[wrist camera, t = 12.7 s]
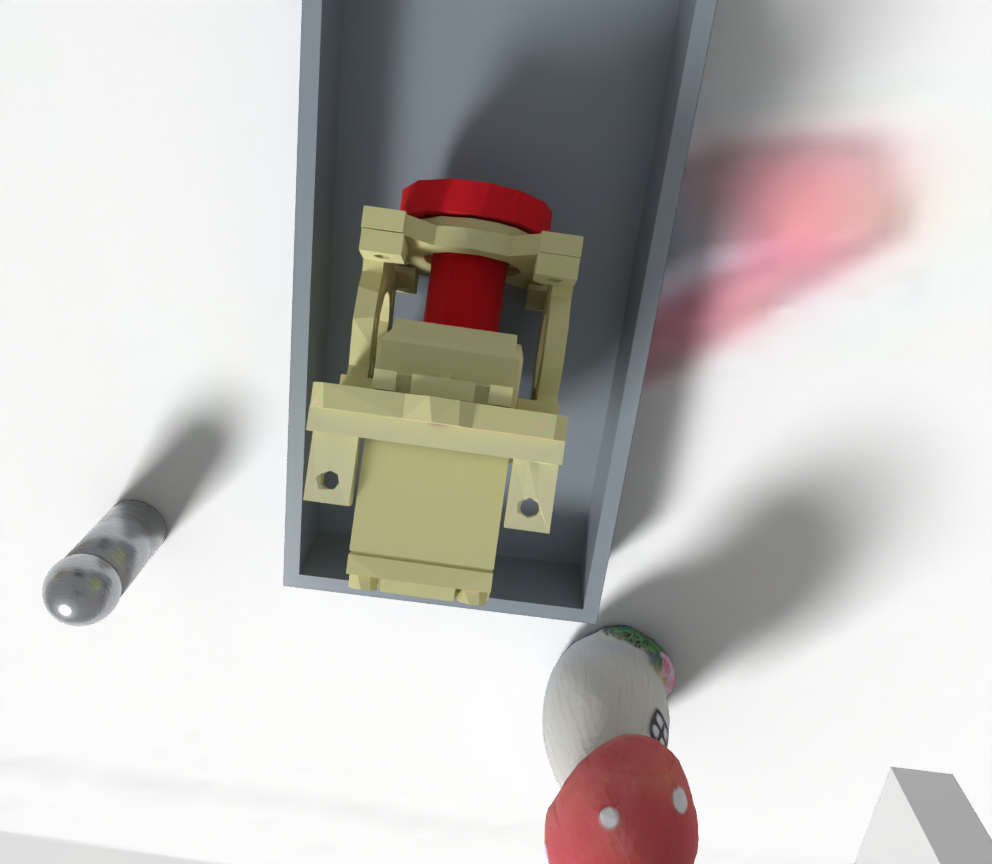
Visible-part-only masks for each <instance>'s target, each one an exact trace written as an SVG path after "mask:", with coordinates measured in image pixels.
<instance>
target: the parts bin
mask: <svg viewBox="0 0 992 864" xmlns="http://www.w3.org/2000/svg"><path fill="white" fill-rule="evenodd" d="M716 3H717V0H302V21H301V52H300V83H299V114H298V145H297V176H296V207H295V238H294V269H293V300H292V331H291V362H290V393H289V423H288V454H287V485H286V516H285V547H284V578H283V586H290V587H298V588H306V589H314V590H322V591H330V592H338V593H347V594H355V595H363V596H371V597H379V598H387V599H395V600H403V601H412V602H420V603H428V604H436V605H444V606H452V607H460V608H468V609H477V610H485V611H493V612H501V613H509V614H517V615H525V616H533V617H542V618H550V619H558V620H566V621H574V622H582V623H590V624H596V622H597V617H598V611H599V606H600V601H601V596H602V591H603V586H604V580H605V575H606V570H607V565H608V560H609V555H610V550H611V544H612V539H613V534H614V529H615V524H616V519H617V513H618V508H619V503H620V498H621V493H622V488H623V483H624V477H625V472H626V467H627V462H628V457H629V452H630V446H631V441H632V436H633V431H634V426H635V421H636V415H637V410H638V405H639V400H640V395H641V390H642V385H643V379H644V374H645V369H646V364H647V359H648V354H649V348H650V343H651V338H652V333H653V328H654V323H655V318H656V312H657V307H658V302H659V297H660V292H661V287H662V281H663V276H664V271H665V266H666V261H667V256H668V251H669V245H670V240H671V235H672V230H673V225H674V220H675V214H676V209H677V204H678V199H679V194H680V189H681V184H682V178H683V173H684V168H685V163H686V158H687V153H688V147H689V142H690V137H691V132H692V127H693V122H694V116H695V111H696V106H697V101H698V96H699V91H700V86H701V80H702V75H703V70H704V65H705V60H706V55H707V49H708V44H709V39H710V34H711V29H712V24H713V19H714V13H715V8H716ZM450 178H456V179H464V180H472V181H480V182H488V183H493V184H497V185H501V186H504V187H508V188H512V189H516V190H520V191H523V192H525V193H527V194H529V195H531V196H533V197H535V198H537V199H539V200H542V201H544V202H546V204H547V205H548V207H549V208H550V210H551V211H552V212H553V214H552V221H551V228H550V232H555V233H562V234H569V235H576V236H583V237H584V238H583V246H582V253H581V258H580V263H579V270H578V278H577V281H576V283H575V285H574V287H573V292H572V298H571V307H570V317H569V328H568V335H567V342H566V349H565V356H564V364H563V370H562V376H561V382H560V387H559V393H558V402H557V404H560V410H559V415H561V416H565V417H569V419H568V425H567V432H566V439H565V447H564V455H563V462H562V465H559V467H558V474H557V481H556V489H555V496H554V503H553V511H552V518H551V525H550V533H549V534H548V533H541V532H533V531H526V530H519V529H511V528H504V518H505V511H506V504H507V497H508V489H509V482H510V475H511V468H512V462H511V463H510V464H509V465H508V469H507V476H506V483H505V490H504V498H503V505H502V512H501V520H500V527H499V534H498V542H497V549H496V556H495V563H494V570H493V578H492V587H491V592H490V595H489V599H488V600H486V604H485V605H481V606H478V605H469V604H465V603H461V602H459V601H457V598H455V600H454V601H453V602H452V601H444V600H437V599H430V598H422V597H415V596H408V595H401V594H393V593H386V592H379V591H380V587H377V590H373V591H367V590H359V589H353V588H350V587H349V574H346V569H347V561H348V554H349V553H350V552H351V550H349V548H350V541H351V534H352V527H353V520H354V513H355V506H356V498H357V491H358V484H359V477H360V470H361V463H362V456H363V449H364V442H365V438H361V445H360V452H359V459H358V466H357V473H356V480H355V487H354V494H353V501H352V505H350V506H343V505H336V504H329V503H321V502H314V501H307V500H303V497H304V490H305V483H306V476H307V469H308V462H309V455H310V448H311V441H312V434H313V431H310V430H306V427H307V420H308V413H309V406H310V403H311V395H312V387H313V382H325V383H333V384H340V377H341V374H344V375H347V372H348V366H349V356H350V345H351V334H352V323H353V315H354V309H355V304H356V298H357V292H358V286H359V282H360V278H361V274H362V268H363V257H362V255H361V253H360V251H359V244H360V237H361V230H362V227H361V222H362V215H363V208H364V205H365V206H372V207H379V208H386V209H393V210H400V206H401V198H402V190H403V189H404V188H406V187H408V186H409V185H411V184H413V183H414V182H416V181H418V180H432V179H450ZM418 276H419V280H418V288H417V295H415V294H408V293H401V292H396V294H395V304H394V315H393V324H392V328H393V325H394V322H395V319H396V318H399V319H406V320H413V321H421V322H423V321H424V313H425V306H426V299H427V291H428V284H429V277H430V274H418ZM526 292H527V290H526V289H523V288H520V287H517V286H514V285H511V284H508V283H505V287H504V294H503V301H502V309H501V316H500V323H499V331H498V332H499V333H506V334H513V335H517V344H520V345H521V346H522V353H523V366H522V372H521V379H520V386H519V392H518V398H521V399H529V400H530V399H531V391H532V382H533V374H534V366H535V359H536V351H537V344H538V337H539V331H540V325H541V319H542V312H540V311H533V310H526V309H524V306H525V299H526ZM338 484H339V479H338V474H336V473H334V472H332V471H330V472H327V473H326V474H325V475H324V485H325V486H326V487H328V488H329V489H334V488H336V486H337V485H338ZM520 510H521V512H522V513H523V514H524V515H527V516H531V515H533V514H535V513H536V512H537V511H538V503H537V502H536V501H534V500H533V499H532V498H528V499H526V500H523V501H522V504H521V507H520Z"/></svg>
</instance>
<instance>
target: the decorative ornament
mask: <svg viewBox="0 0 992 864" xmlns="http://www.w3.org/2000/svg"><path fill="white" fill-rule="evenodd" d="M675 683H676V676H675V672H674V667H673V664H672V662H671V660H670V658H669V657H668V655H667V654H666V652H665V651H664V650H663V649H662V648H661V647H660V646H659V645H657V644H656V643H655V641H654V640H653V639H651V638H649V637H647V636H645V635H643V634H641V633H639V632H637V631H635V630H633V629H631V628H629V627H627V626H617V627H604V628H602V629H601V630H599V631H598V632H596V633H594V634H592V635H589V636H587V637H584V638H582V639H581V640H579V641H577V642H575V643H574V644H573V645H571V646H570V647H569V648H568V649H567V650H566V651H565V652H564V653H563V654H562V656H561V657H560V659H559V660H558V662H557V663H556V665H555V667H554V669H553V671H552V673H551V676H550V679H549V682H548V685H547V689H546V693H545V698H544V705H543V736H544V743H545V748H546V752H547V756H548V759H549V762H550V765H551V768H552V770H553V773H554V775H555V778H556V780H557V782H558V784H559V786H560V788H561V790H560V792H559V793H558V795H557V797H556V798H555V800H554V801H553V803H552V804H551V805H550V807H549V808H548V811H547V814H546V821H545V853H546V856H547V859H548V862H549V864H694V860H695V857H696V854H697V849H698V822H697V814H696V809H695V806H694V803H693V800H692V794H691V791H690V788H689V785H688V781H687V779H686V776H685V774H684V771H683V769H682V767H681V764H680V762H679V760H678V759H677V758H676V757H675V755H674V754H673V753H672V752H671V751H670V750H669V749H667V746H668V737H669V723H670V722H669V710H668V702H667V696H668V695H669V694H670V693H671V692H672V691H673V688H674V686H675Z"/></svg>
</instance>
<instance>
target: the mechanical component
mask: <svg viewBox="0 0 992 864" xmlns="http://www.w3.org/2000/svg"><path fill="white" fill-rule="evenodd" d="M552 214H553V212H552V211H551V210H550V208H549V207H548V205H547V204H546V202H544V201H542V200H539V199H537V198H535V197H533V196H531V195H529V194H527V193H525V192H523V191H520V190H516V189H512V188H508V187H504V186H501V185H497V184H493V183H488V182H480V181H472V180H464V179H456V178H450V179H432V180H418V181H416V182H414V183H413V184H411V185H409V186H408V187H406V188H404V189H403V190H402V198H401V206H400V210H393V209H386V208H379V207H372V206H365V205H364V208H363V215H362V222H361V227H362V230H361V237H360V244H359V251H360V253H361V255H362V257H363V268H362V274H361V278H360V282H359V286H358V292H357V298H356V304H355V309H354V315H353V323H352V334H351V345H350V356H349V366H348V372H347V375H344V374H341V377H340V384H333V383H325V382H313V387H312V395H311V403H310V406H309V413H308V420H307V427H306V430H310V431H313V434H312V441H311V448H310V455H309V462H308V469H307V476H306V483H305V490H304V497H303V500H307V501H314V502H321V503H329V504H336V505H343V506H350V505H352V501H353V494H354V487H355V480H356V473H357V466H358V459H359V452H360V445H361V438H365V442H364V449H363V456H362V463H361V470H360V477H359V484H358V491H357V498H356V506H355V513H354V520H353V527H352V534H351V541H350V548H349V550H351V552H350V553H349V554H348V561H347V569H346V574H349V587H350V588H353V589H359V590H367V591H373V590H377V587H380V591H379V592H386V593H393V594H401V595H408V596H415V597H422V598H430V599H437V600H444V601H452V602H453V601H454V600H455V598H457V601H459V602H461V603H465V604H469V605H478V606H481V605H485V604H486V600H488V599H489V595H490V592H491V587H492V578H493V570H494V563H495V556H496V549H497V542H498V534H499V527H500V520H501V512H502V505H503V498H504V490H505V483H506V476H507V469H508V465H509V464H510V463H511V462H512V468H511V475H510V482H509V489H508V497H507V504H506V511H505V518H504V528H511V529H519V530H526V531H533V532H541V533H548V534H549V533H550V525H551V518H552V511H553V503H554V496H555V489H556V481H557V474H558V467H559V465H562V462H563V455H564V447H565V439H566V432H567V425H568V419H569V417H565V416H561V415H559V410H560V404H557V402H558V393H559V387H560V382H561V376H562V370H563V364H564V356H565V349H566V342H567V335H568V328H569V317H570V307H571V298H572V292H573V287H574V285H575V283H576V281H577V278H578V270H579V263H580V258H581V253H582V246H583V238H584V237H583V236H576V235H569V234H562V233H555V232H550V228H551V221H552ZM418 274H430V277H429V284H428V291H427V299H426V306H425V313H424V321H423V322H421V321H413V320H406V319H399V318H396V319H395V322H394V325H393V328H392V324H393V315H394V304H395V294H396V292H401V293H408V294H415V295H417V288H418V280H419V276H418ZM505 283H508V284H511V285H514V286H517V287H520V288H523V289H526V290H527V292H526V299H525V306H524V309H526V310H533V311H540V312H542V319H541V325H540V331H539V337H538V344H537V351H536V359H535V366H534V374H533V382H532V391H531V399H530V400H529V399H521V398H518V392H519V386H520V379H521V372H522V366H523V353H522V346H521V345H520V344H517V335H513V334H506V333H499V332H498V331H499V323H500V316H501V309H502V301H503V294H504V287H505ZM330 471H332V472H334V473H336V474H338V479H339V484H338V485H337V486H336V488H334V489H329V488H328V487H326V486H325V485H324V475H325V474H326V473H327V472H330ZM528 498H532V499H533V500H534V501H536V502H537V503H538V511H537V512H536V513H535V514H533V515H531V516H527V515H524V514H523V513H522V512H521V510H520V507H521V504H522V501H523V500H526V499H528Z"/></svg>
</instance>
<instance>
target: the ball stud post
mask: <svg viewBox="0 0 992 864" xmlns="http://www.w3.org/2000/svg"><path fill="white" fill-rule="evenodd" d="M165 537H166V526H165V522H164V520H163V518H162V516H161V515H160V514H159V513H158V512H157V511H156V510H155V509H154V508H153V507H151V506H150V505H148V504H146V503H144V502H140V501H135V500H128V501H123V502H120V503H118V504H116V505H115V506H114V507H113V508H112V509H111V510H110V511H109V512H108V513H107V514H106V515H105V516H104V517H103V518H102V519H101V520H100V521H99V522H98V523H97V524H96V526H95V527H94V528H93V529H92V530H91V531H90V532H89V533H88V534H87V535H86V536H85V537H84V538H83V539H82V540H81V541H80V542H79V543H78V544H77V545H76V546H75V547H74V549H73V550H72V551H71V552H70V553H69V554H68V555H67V556H66V557H65V558H64V559H62V560H60V561H59V562H58V563H56V564H55V565H54V566H53V567H52V568H51V570H50V571H49V572H48V574H47V576H46V578H45V580H44V583H43V589H42V596H43V601H44V604H45V606H46V608H47V610H48V611H49V613H50V614H51V615H52V616H53V617H54V618H55V619H57V620H58V621H60V622H62V623H65V624H68V625H72V626H86V625H91V624H94V623H96V622H99V621H101V620H102V619H104V618H105V617H107V616H108V615H109V614H110V613H111V612H112V611H113V610H114V608H115V607H116V605H117V603H118V602H119V599H120V597H121V596H122V594H123V593H124V592H125V591H126V589H127V588H128V587H129V585H130V584H131V583H132V582H133V580H134V579H135V578H136V576H137V575H138V574H139V573H140V571H141V570H142V569H143V567H144V566H145V565H146V564H147V562H148V561H149V560H150V559H151V557H152V556H153V555H154V553H155V552H156V551H157V550H158V548H159V547H160V546H161V544H162V543H163V541H164V539H165Z"/></svg>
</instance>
